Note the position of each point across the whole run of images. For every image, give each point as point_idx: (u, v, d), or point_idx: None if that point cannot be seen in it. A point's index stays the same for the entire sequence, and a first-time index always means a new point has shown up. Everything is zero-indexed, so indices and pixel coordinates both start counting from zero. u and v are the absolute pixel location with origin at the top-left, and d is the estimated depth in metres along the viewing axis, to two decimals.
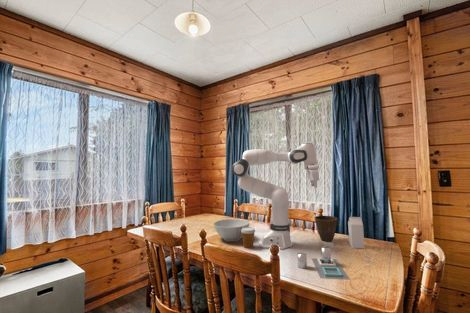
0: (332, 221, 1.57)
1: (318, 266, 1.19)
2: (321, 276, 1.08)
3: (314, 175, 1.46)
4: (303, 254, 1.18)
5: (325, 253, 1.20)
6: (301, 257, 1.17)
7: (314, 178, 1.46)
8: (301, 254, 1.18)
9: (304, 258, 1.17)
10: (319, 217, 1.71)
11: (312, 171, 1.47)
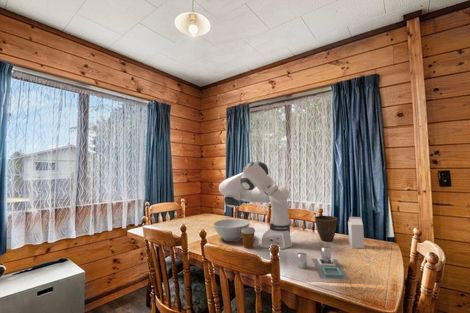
0: (332, 221, 1.57)
1: (318, 266, 1.19)
2: (321, 276, 1.08)
3: (280, 199, 1.10)
4: (303, 254, 1.18)
5: (325, 253, 1.20)
6: (301, 257, 1.17)
7: (281, 202, 1.10)
8: (301, 254, 1.18)
9: (304, 258, 1.17)
10: (319, 217, 1.71)
11: (274, 195, 1.11)
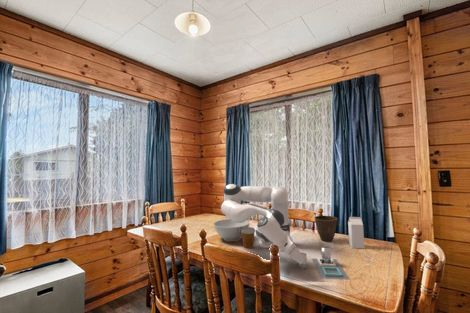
0: (332, 221, 1.57)
1: (318, 266, 1.19)
2: (321, 276, 1.08)
3: (298, 258, 1.09)
4: (303, 254, 1.18)
5: (325, 253, 1.20)
6: None
7: (300, 261, 1.09)
8: None
9: None
10: (319, 217, 1.71)
11: (292, 255, 1.09)
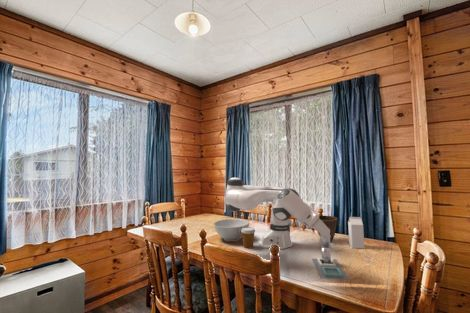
0: (332, 221, 1.57)
1: (318, 266, 1.19)
2: (321, 276, 1.08)
3: (322, 230, 1.02)
4: None
5: (325, 253, 1.20)
6: None
7: (325, 233, 1.02)
8: None
9: None
10: (319, 217, 1.71)
11: (316, 226, 1.03)
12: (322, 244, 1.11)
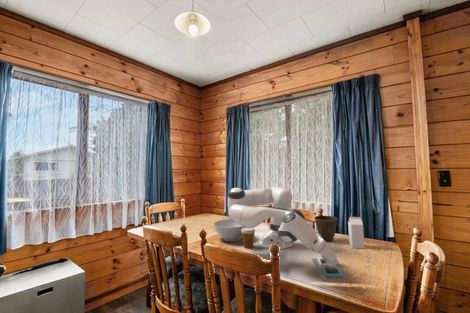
0: (332, 221, 1.57)
1: (318, 266, 1.19)
2: (321, 276, 1.08)
3: (329, 256, 1.02)
4: None
5: None
6: None
7: (332, 259, 1.01)
8: None
9: None
10: (319, 217, 1.71)
11: (323, 252, 1.02)
12: (328, 271, 1.10)
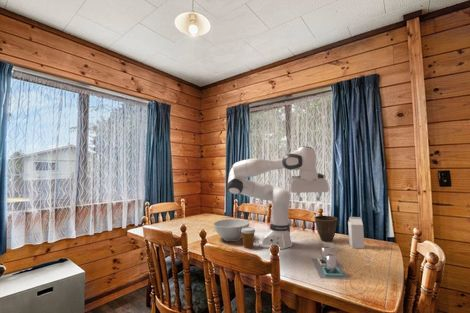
0: (332, 221, 1.57)
1: (318, 266, 1.19)
2: (321, 276, 1.08)
3: None
4: (332, 256, 1.11)
5: (325, 253, 1.20)
6: (330, 259, 1.10)
7: None
8: (330, 256, 1.11)
9: (334, 260, 1.10)
10: (319, 217, 1.71)
11: (326, 180, 1.25)
12: (328, 271, 1.10)
